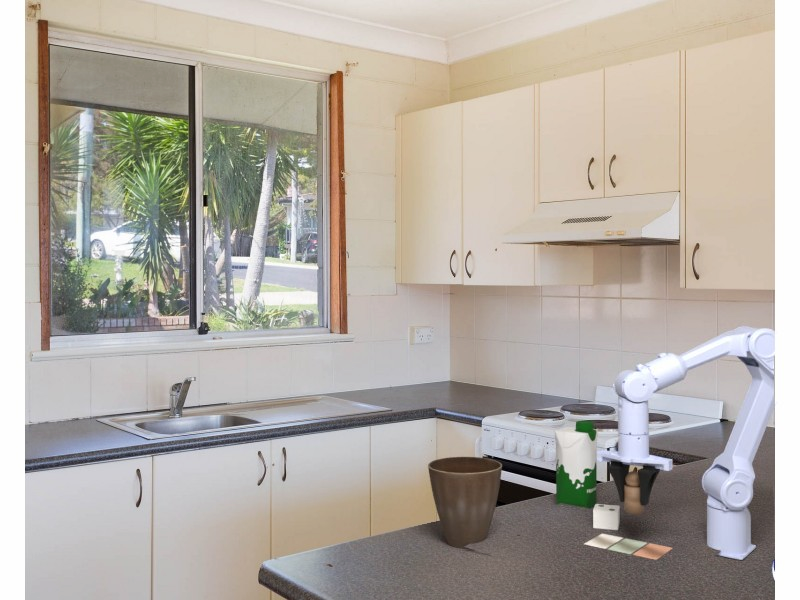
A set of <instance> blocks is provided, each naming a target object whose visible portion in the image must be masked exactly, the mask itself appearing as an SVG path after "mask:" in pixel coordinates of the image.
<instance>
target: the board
mask: <svg viewBox="0 0 800 600" xmlns="http://www.w3.org/2000/svg"><path fill="white" fill-rule="evenodd" d="M583 545H585V546H586V545H587V546H591V547H596V548H598V549H599V548H600V549H604V550H609V551H614V552H619V553H623V554H628V555H633V556H637V557H643V558H645V559H650V560H658V559H660V558H661V557H662V556H664V555H666V554H667V553H669V551H672V549H673V547H670V546H665V545H661V544H656V543H651V542H649V543H648V542H647V541H646V542H645V541H640V540H636V539H631V538H624V537H622V536H616V535H611V534H607V533H601V534H599V535H597V536H595V537H593V538H592V539H590V540H588V541H587V542H584V543H583Z"/></svg>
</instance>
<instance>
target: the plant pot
mask: <svg viewBox="0 0 800 600" xmlns="http://www.w3.org/2000/svg"><path fill="white" fill-rule="evenodd" d="M427 469H428V473H429V482H430V488H431V492H432V496H433V500H434V504H435V508H436V513H437V515H438V520H439V521H440V526H441V528H442V531H443V533H444V536H445V539H446V541H447V543H448V545H450V546H452V547H454V548H457V549H467V546H468V545H471V544H478V543H483V542H484V541H486V539H487V536H488V534H489V531H490V528H491V526H492V525H491V524H492V521H493V519H494V515H495V514H494V513H495V512H496V511H495V509H496V505H497V501H498V496H499V490H500V485H501V477H502V470H503V464H502V463H501V462H500V461H498V460H495V459H491V458H485V457H478V456H477V457H476V456H452V457H451V456H449V457H443V458H437V459H434V460H432V461H430V462H429V463H428V464H427Z"/></svg>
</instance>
